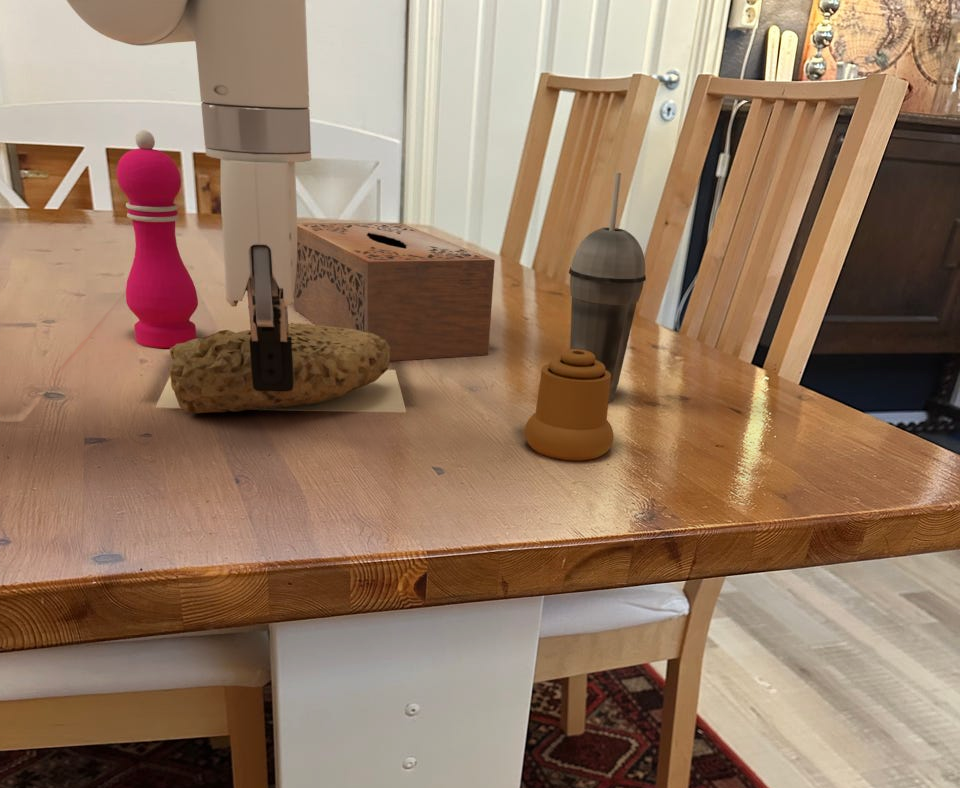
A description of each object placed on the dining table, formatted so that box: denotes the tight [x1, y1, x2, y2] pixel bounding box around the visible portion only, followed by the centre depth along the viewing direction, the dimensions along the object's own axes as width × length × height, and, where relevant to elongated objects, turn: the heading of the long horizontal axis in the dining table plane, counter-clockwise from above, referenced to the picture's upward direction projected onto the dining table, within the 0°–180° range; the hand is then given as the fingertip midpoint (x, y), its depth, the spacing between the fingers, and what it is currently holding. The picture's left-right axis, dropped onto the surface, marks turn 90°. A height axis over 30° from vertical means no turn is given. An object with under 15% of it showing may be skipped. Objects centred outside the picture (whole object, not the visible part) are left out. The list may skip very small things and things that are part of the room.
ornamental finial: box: [524, 348, 614, 462], centre depth 77 cm, size 8×8×8 cm
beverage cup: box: [568, 172, 647, 403], centre depth 88 cm, size 7×7×20 cm
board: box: [154, 369, 407, 414], centre depth 89 cm, size 22×14×1 cm, turn 99°
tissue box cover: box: [293, 222, 496, 362], centre depth 108 cm, size 26×14×10 cm, turn 27°
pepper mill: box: [116, 129, 199, 349], centre depth 95 cm, size 7×7×20 cm
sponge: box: [168, 322, 390, 414], centre depth 83 cm, size 13×8×20 cm
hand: (273, 387), depth 76 cm, fingers closed
